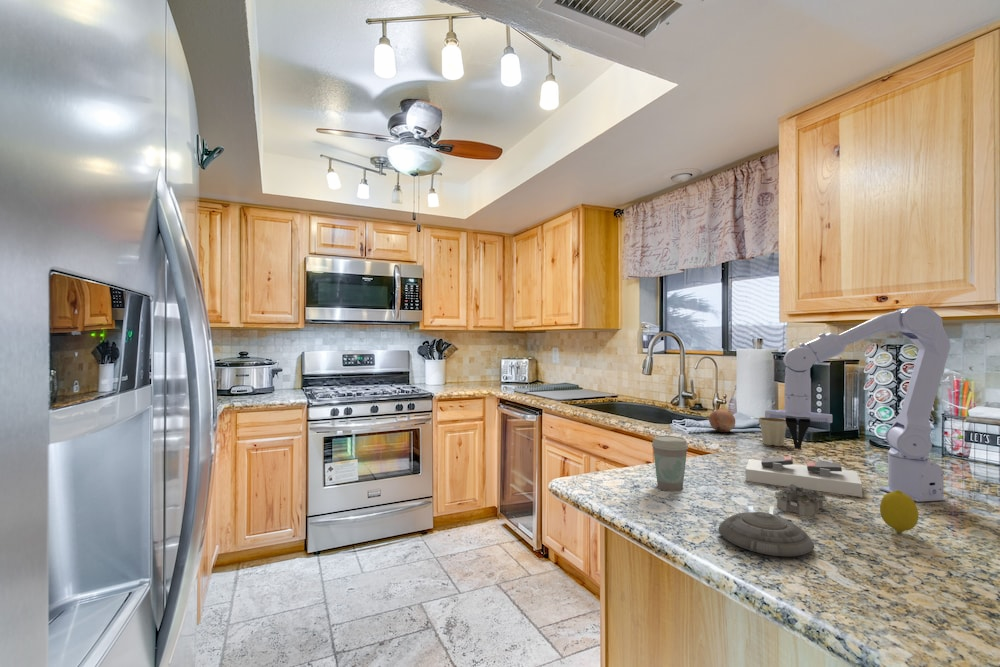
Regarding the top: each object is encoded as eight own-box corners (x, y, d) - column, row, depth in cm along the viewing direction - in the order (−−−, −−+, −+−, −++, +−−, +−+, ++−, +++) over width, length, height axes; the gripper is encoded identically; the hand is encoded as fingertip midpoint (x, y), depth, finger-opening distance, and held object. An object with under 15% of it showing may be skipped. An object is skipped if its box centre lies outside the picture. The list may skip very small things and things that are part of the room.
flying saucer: (705, 543, 86) (705, 513, 86) (735, 521, 96) (735, 494, 96) (801, 573, 75) (801, 538, 75) (823, 544, 85) (823, 513, 85)
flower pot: (764, 440, 171) (764, 416, 171) (793, 444, 164) (793, 419, 164) (753, 443, 165) (753, 418, 165) (782, 448, 158) (782, 422, 158)
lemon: (880, 524, 93) (879, 484, 94) (917, 532, 90) (917, 489, 90) (879, 533, 89) (879, 491, 89) (919, 541, 86) (918, 497, 86)
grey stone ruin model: (810, 519, 97) (810, 499, 97) (771, 509, 103) (771, 490, 103) (829, 507, 103) (829, 489, 103) (791, 498, 109) (791, 480, 109)
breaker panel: (856, 483, 120) (856, 464, 120) (862, 496, 110) (862, 476, 110) (749, 469, 132) (749, 452, 133) (745, 480, 122) (745, 462, 122)
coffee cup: (648, 489, 115) (648, 440, 115) (655, 480, 123) (654, 433, 123) (686, 495, 111) (686, 443, 111) (690, 485, 119) (690, 437, 119)
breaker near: (840, 469, 119) (839, 462, 119) (842, 474, 115) (841, 466, 115) (807, 468, 122) (806, 461, 123) (808, 473, 118) (807, 466, 118)
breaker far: (793, 462, 124) (791, 455, 124) (793, 467, 120) (791, 459, 120) (763, 464, 128) (762, 457, 128) (762, 469, 123) (761, 461, 124)
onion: (718, 437, 190) (716, 413, 195) (741, 434, 183) (738, 409, 188) (705, 431, 185) (703, 406, 190) (728, 428, 178) (726, 402, 183)
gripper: (764, 394, 122) (764, 447, 122) (833, 398, 114) (833, 455, 114) (765, 392, 128) (765, 442, 128) (831, 395, 120) (831, 449, 120)
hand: (797, 448), depth 121 cm, fingers closed
